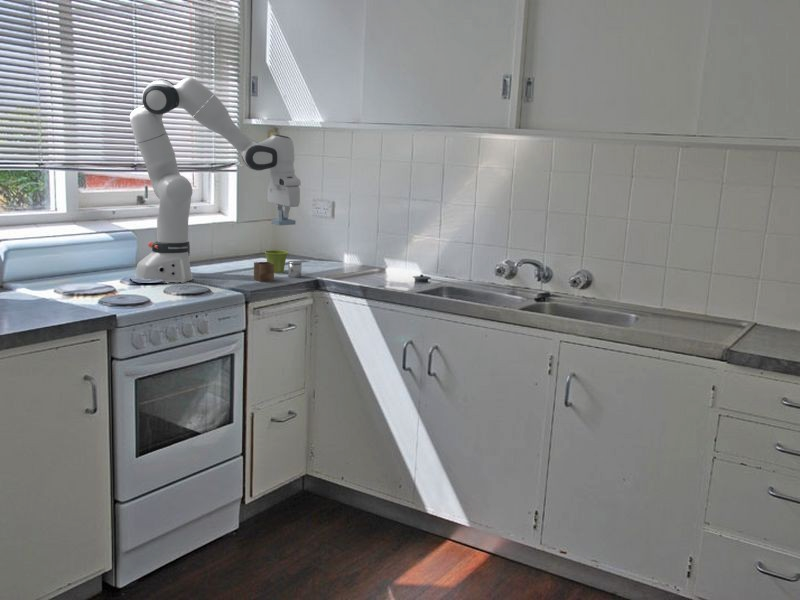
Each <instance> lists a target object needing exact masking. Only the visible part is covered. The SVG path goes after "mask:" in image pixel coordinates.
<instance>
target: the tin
mask: <svg viewBox="0 0 800 600" xmlns="http://www.w3.org/2000/svg"><path fill="white" fill-rule="evenodd" d="M302 264H303V262H302V261H301V260H289V261H288V275H287V276H288V278H292V279H293V278H295V279H297V278H298V279H299V278H302V270H303V269H302V267H303V265H302Z"/></svg>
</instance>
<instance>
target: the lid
mask: <svg viewBox="0 0 800 600" xmlns="http://www.w3.org/2000/svg"><path fill="white" fill-rule="evenodd" d="M283 212H284V209H283V210H279V216H278V218H275V219H274V218H273V219H271V224H272V225H275V226H292V225H296V220H295V219H291V218H289V217H288V218H284V217H283Z"/></svg>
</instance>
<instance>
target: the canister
mask: <svg viewBox="0 0 800 600" xmlns="http://www.w3.org/2000/svg"><path fill="white" fill-rule="evenodd" d="M253 280H254V281H256V282H260V283H262V282H263V283H264V282H275V273H274V264H273V263H270V262H267V261H256V262H253Z"/></svg>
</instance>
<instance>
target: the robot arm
mask: <svg viewBox="0 0 800 600" xmlns="http://www.w3.org/2000/svg"><path fill="white" fill-rule="evenodd" d="M141 103H142V105H141V106H139V107H137V108H135V109H133V111H132V112H131V113H130V114H129V120H130V126H131V129H132V133H133V137H134V139H135V143H136V145H137V147H138V150H139V152H140V154H141V156H142V159H143V162H144V164H145V167H146V171H147V174H148V178H149V181H150V183H151V186H152V190H153V192H154V194H155V196H156V198H158V200H159V206H158V215H157V219H156V222H157V223H156V227H157V228H156V231H157V234H156V236H157V237H156V239H157V240H156V241H155V242H153V241H148V243H147V246H148V247H149V248H151V252H150V253H149V254H148V255H147V254H146V256H145V257H143V258H142V259H141V260H140V261H139V262H137V265H136V268H135V274H134V275H135V276H136V277H137V278H144V279H156V278H157V279H163V280H164V281H165V282H181V283H180V284H185V283H186V282H189V281H192V280H193V279H194V278H193V275H192V270H191V266H190V263H191V262H190V254H191V253H190V252H191V247H190V241H189V217H190V212H191V211H190V209H191V203H192V195H193V186H192V184H191V182H190V181H189V179H188V178H187V177H186V176H183V175H181V173H180V170H179V167H178V162H177V159H176V153H175V149H174V148H173V146H172V142H171V140H170V138H169V135H168V132H167V130H166V128H165V125H164V122H163V115H165V114H167V113H169V112H170V111H172V110H174V109H176V108H178V107H179V108H182V109H183V110H185V111H186V112H187V113H188V114H189V115H190V116H191V117H192V118H193V119H194V120H196V121H197V122H198V123H199V124H200V125H202V126H203V127H205V128H207V130H209V131H212V132H215V133H216V134H218V135H220V136H222V137H223V139H225V140H226V141H227V142H228V143H230V145H231V146H232V147H234V149H236V151H237V152H238V153H239V155H241V158H242V161H243V162H244V164H245V166H246V167H247V168H249V169H251V170H253V171H255V172H256V171H259V172H261V171H264V170H267V169H269V170H270V171H269V172H270V181H269V183H268V186H267V202H268V203H270V204H274V205H275V206H276V208H275V209H276V211H277V217H279V210H284V212H283V217H284V218H288V219H289V214H290V210H291V208H296V207H297V208H298V207H299V205H300V203H301V190H300V186H301V179H299V177H297V175H296V174H295V172H296V170H295V167H294V162H295V145H294V142H293V140H292V138H291V137H289V136H286V135H282V134H281V135H280V134H272V135H271V136H270V137H268V138H266V139H265V140H262V141H260V142H257V141H254V140H253V139H251V138H250V137H249V136H248V135H247V134H245V133H244V131H243V130H241V128H239V127H238V126H237V125H236V124H235V122H234V121H233V119H232V118H231V115H230V114H229V111H228V109H227V108H226V106H225V105H224V103H223V102H222V101H221V99H219V98H218V97H217V96H216V95H215V94H214V92H212V91H211V90H210V89H209V88H208V87H206V86H205V85H204V84H203V83H201V82H200V81H199V80H196V79H195V78H193V77H186V78H184V79H181V80H180V81H179V82H178V83H177V84H174V83H173V82H171V81H169V80H168V79H162V78H161V79H160V78H159V79H156V80H154V81H151V82H149V84H148V85H147V86H145V87H144V89H143V91H142V93H141Z"/></svg>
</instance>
